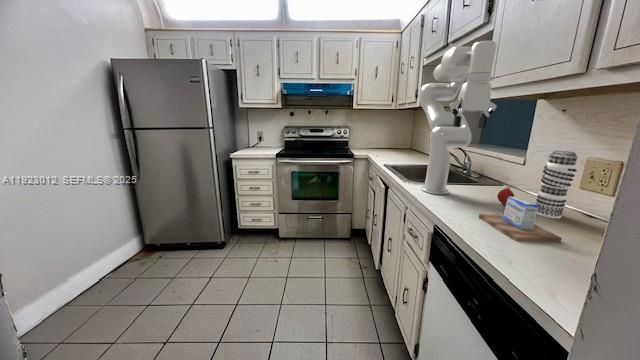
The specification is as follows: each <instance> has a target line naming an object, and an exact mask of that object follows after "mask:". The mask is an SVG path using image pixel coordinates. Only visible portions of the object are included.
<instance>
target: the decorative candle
mask: <svg viewBox="0 0 640 360" xmlns="http://www.w3.org/2000/svg"><path fill="white" fill-rule="evenodd" d="M578 159H579V156H578V155H577V154H576V153H575V152H574V151H570V150H569V151H567V150H553V152H552V153H549V157H548V161H547V162H546V165H544V166H543V170H542V172H543V174H542V175H541V179H540V184H541V187H540V190H539V192H538V194H537V195H536V197H537V198H536V199H535V200H536V202H534V203H535V204H537V205H539V208H538V212H537V215H538V216H541V217H544V218H549V219H550V218H551V219H556V218H557V219H561V218H562V216H561V215H563V212H564V210H565V208H564V207H565V206H566V204H565V203H566V202H567V200H566V199H567V193H568V190H570V188H571V186H572V183H570V182H572V181H574V179H573V178H574V177H576V175H575V174H574V172H577V171H578V170H577V169H576V166H577V165H576V163H577V160H578Z"/></svg>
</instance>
